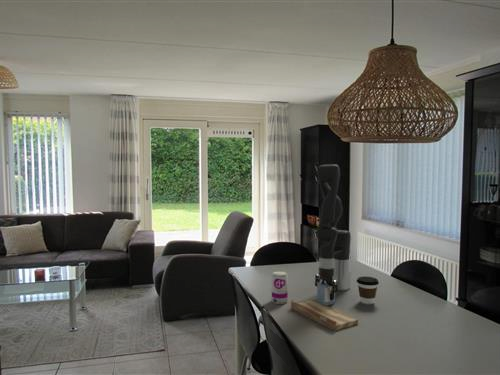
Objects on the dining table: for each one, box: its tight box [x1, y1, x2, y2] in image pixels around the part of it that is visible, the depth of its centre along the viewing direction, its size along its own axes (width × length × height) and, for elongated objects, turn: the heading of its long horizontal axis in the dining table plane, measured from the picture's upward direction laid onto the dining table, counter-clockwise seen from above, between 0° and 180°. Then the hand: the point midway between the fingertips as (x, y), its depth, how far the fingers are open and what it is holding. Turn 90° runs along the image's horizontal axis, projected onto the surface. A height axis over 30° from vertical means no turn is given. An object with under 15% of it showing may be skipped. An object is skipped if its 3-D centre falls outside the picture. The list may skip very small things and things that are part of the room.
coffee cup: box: [356, 276, 380, 305], centre depth 202 cm, size 11×11×12 cm
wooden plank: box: [290, 299, 359, 332], centre depth 184 cm, size 14×30×4 cm, turn 32°
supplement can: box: [271, 270, 289, 305], centre depth 202 cm, size 8×8×15 cm
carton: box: [316, 283, 336, 306], centre depth 200 cm, size 8×5×10 cm, turn 122°
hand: (325, 297), depth 200 cm, fingers open, 8 cm apart
